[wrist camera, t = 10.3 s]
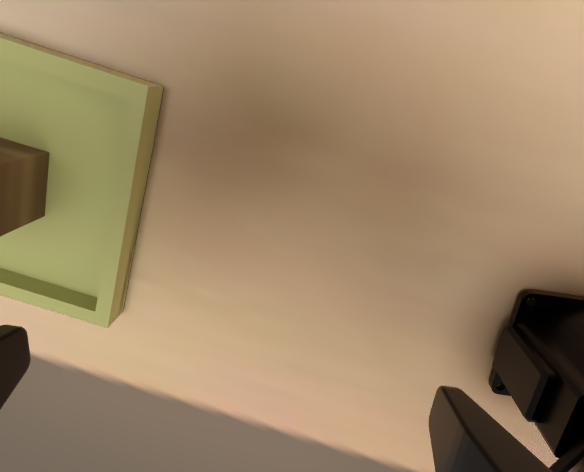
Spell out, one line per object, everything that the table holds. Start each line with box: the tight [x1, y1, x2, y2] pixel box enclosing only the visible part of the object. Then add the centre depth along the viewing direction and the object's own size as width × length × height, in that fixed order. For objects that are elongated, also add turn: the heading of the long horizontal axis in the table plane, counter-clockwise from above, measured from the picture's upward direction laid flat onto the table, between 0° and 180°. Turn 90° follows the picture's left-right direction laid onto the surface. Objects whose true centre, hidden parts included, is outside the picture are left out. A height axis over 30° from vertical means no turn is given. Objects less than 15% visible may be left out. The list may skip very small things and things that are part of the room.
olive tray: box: [0, 33, 164, 328], centre depth 21 cm, size 13×13×2 cm
